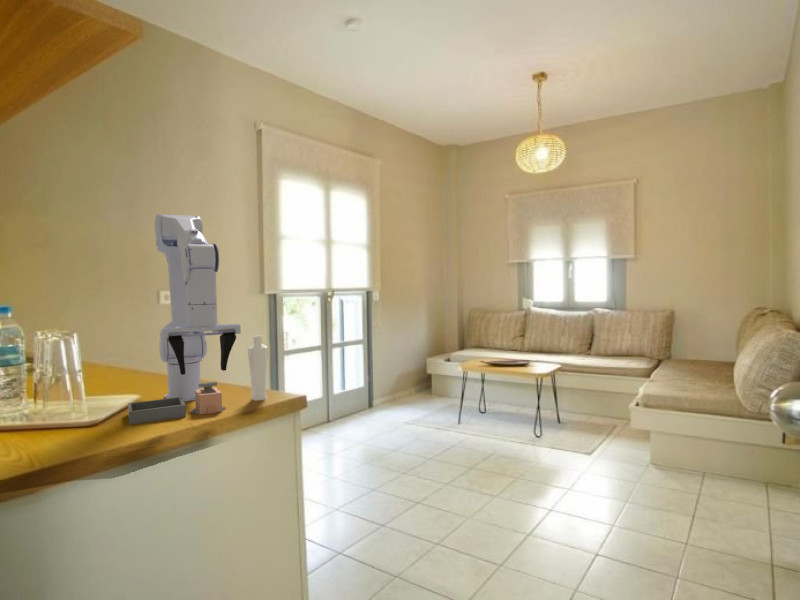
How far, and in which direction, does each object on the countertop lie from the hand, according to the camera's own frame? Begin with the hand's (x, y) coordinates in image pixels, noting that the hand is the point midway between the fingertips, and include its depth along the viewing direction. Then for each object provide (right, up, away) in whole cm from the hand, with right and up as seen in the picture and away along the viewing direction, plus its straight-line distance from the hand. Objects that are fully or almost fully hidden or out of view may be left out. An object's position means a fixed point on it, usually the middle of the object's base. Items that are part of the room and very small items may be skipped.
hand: (203, 371), depth 99 cm
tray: (-11, -10, +3) cm, 15 cm away
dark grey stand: (-2, -9, +7) cm, 12 cm away
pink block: (-2, -9, +7) cm, 12 cm away
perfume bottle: (+6, -9, +17) cm, 20 cm away
